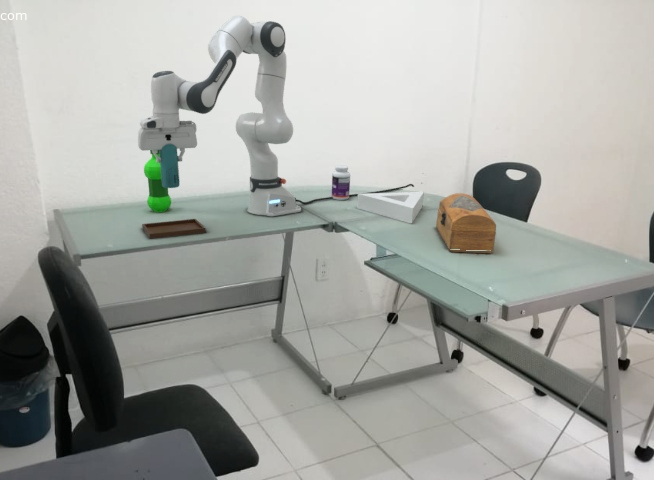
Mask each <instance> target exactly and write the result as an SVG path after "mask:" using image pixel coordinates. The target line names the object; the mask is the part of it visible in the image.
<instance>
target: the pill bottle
mask: <svg viewBox="0 0 654 480" xmlns="http://www.w3.org/2000/svg"><path fill="white" fill-rule="evenodd" d="M334 170H335V171H333V172H332V175H331V197H333V199H332V200H336V201H346V200H348V199H349V198H350V197H349V195H350V190H351V189H350V188H351V187H350V186H351V173H350V172H349V167H348V166H347V165H335V169H334Z"/></svg>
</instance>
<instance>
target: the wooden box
mask: <svg viewBox="0 0 654 480" xmlns="http://www.w3.org/2000/svg"><path fill="white" fill-rule="evenodd" d="M435 224H436V225H435V227H436V230H437V232H438V233H439V235H440V237H441V239H442V241H443V242H444V244H445V246H446V248H447V250H448V251H449V252H451V253H472V254H493V253H494V248H495V243H496V242H495V240H496V234H497V224H496V222H495V220H494V219H493V218H492V217H491V215H490V214H488V212H487V211H486V210H485V208H484V207H483V206H482V205H481V203H479V201H478V200H476V198H474V197H473V196H472V195H470V194H467V193H460V192H459V193H458V192H457V193H453V194H450V195H448V196H446V197H444V198H443V199H441V200H440V201H439V206H438V209H437V217H436V223H435ZM446 243H447V244H446ZM447 245H448V246H447ZM448 247H449V248H448ZM450 249H460V250H450ZM466 250H491V251H466Z"/></svg>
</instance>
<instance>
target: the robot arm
mask: <svg viewBox="0 0 654 480" xmlns="http://www.w3.org/2000/svg"><path fill="white" fill-rule="evenodd" d="M286 40H287V39H286V31H285V29H284V27H283V25H282V24H280V23H279V22H276V21H270V20H269V21H256V22H250V21H249V20H248V19H247V18H246V17H244V16H242V15H234V16H232V17H231V18H228V20H227V21H226V22H225V23H224V24H222V25H221V26H220V27H219V28H218V29H217V31H215V33H214V34H213V35H212V36H211V38H210V40H209V43H208V44H207V51H208V55H209V57H210V59H211V60H212V62H213V63H214V65H213V67H212V68H211V70H210V71H209V73H208V75H207V76H206V78H204V79H203V80H201V81H190V80H186V79H185V78H182V77H180V76H178V75H177V74H176V73H175V72H174V71H172V70H162V71H158V72H155V73H154V74H153V75H152V76H151V81H150V93H151V101H152V106H153V107H152V115H151V116H148V117H146V118H143V119H140V121H139V126H140V128H139V130H138V133H137V147H138V148H139V150H141V151H150V150H152V152H153V154H154V155H155V157H156V162H157V163H161V157H158V156H157V154H156V153H158V152H157V150H162V148H163V147H164V146H165V145H167V144H172V145H174V146H176V149H177V150H179V152H180V153H179V155H178V163H179V162H183V157H184V154H185V152H186V149H196V147H197V146H198V138H197V134H196V133H197V124H196V123H195V122H194V121H192V120H180V110H185V111H189V112H194V113H197V114H201V115H205V114H208V113H210V112H212V110H213V109H214V108H215V106H216V105H217V104H216V103H217V101H218V98H219V95H220V93H221V92H222V89H223V88H224V86H225V85H226V83H227V81H228V80H229V78H230V77H231V75H232V73H233V72H234V70H235V67H236V65H237V60H238V58H240V55H241V54H242V53H244V54H248V55H257V56H258V61H259V64H258V69H257V74H256V82H255V88H254V97H255V98H256V100H257V101H258V102H259V103H260V104H261V107H262V112H261V113H260V112H246V113H241V114H240V115H238V116H237V118H236V122H235V132H236V135H238V137H239V138H240V139H241V140H242V141H243V143H244V145H245V148H246V150H247V153H248V157H249V165H250V177H249V182H248V183H249V184H248V185H249V191H250V192H249V193H250V194H249V201H248V205H247V210H246V211H247V213H250V214H252V215H253V214H254V215H258V216H265V217H266V216H268V217H277V216H283V215H289V214H294V213H295V214H296V213H301V212H302V207H301V206H300V205H299V204H297V203H300V204H302V205H309V204H312V203H314V202H317V201H319V202H320V201H326V200H334V199H333V197H332V196H329V197H320V198H315V199H312V200H309V201H302V200H300V199H297V197H296V196H295V195H294V194H293V193H292V192H291V191H290V190H288V189H287V188H286V187H285V186H283V185H286V183H287V179H285V178H284V177H283V178H282V177H279V160H278V159H279V158H278V157H277V155H276V154H275V153H274V152H273V151H272V150H271V148H270V146H269V144H271V145H282V144H287V143H289V142H290V140H291V139H292V137H293V135H294V126H293V123H292V121H291V119H290V118H289V117H288V115H287V113H286V110H285V105H284V94H285V93H284V92H285V85H286V77H287V54H286V52H285V48H286ZM168 134H170V135H171V137H172V138H171V140H166V139H167V138H165V135H168ZM408 187H412V188H415V185H414V184H413V183H408V184H407V185H404V186H399V187H394V188H388V189H383V190H378V191H377V190H375V191H369V192H362V193H360V194H367V193H388V192H393V191H396V190H403V189H406V188H408ZM358 194H359V193H353V194H349V198H352V197H358Z"/></svg>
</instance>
